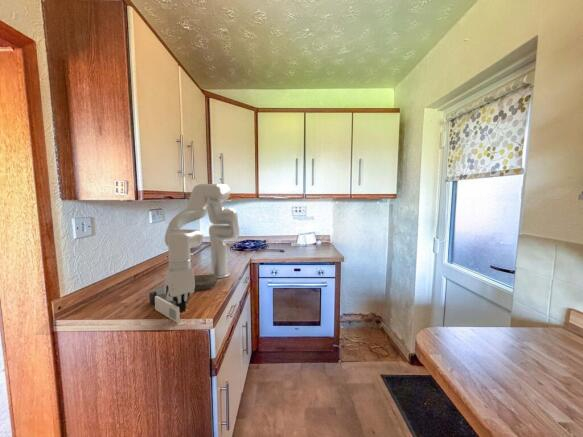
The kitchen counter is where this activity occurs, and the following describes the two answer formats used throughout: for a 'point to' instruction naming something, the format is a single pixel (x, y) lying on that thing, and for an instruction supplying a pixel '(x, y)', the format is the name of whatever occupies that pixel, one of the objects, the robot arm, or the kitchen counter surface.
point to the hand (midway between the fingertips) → (181, 311)
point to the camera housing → (160, 294)
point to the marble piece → (204, 281)
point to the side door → (167, 309)
